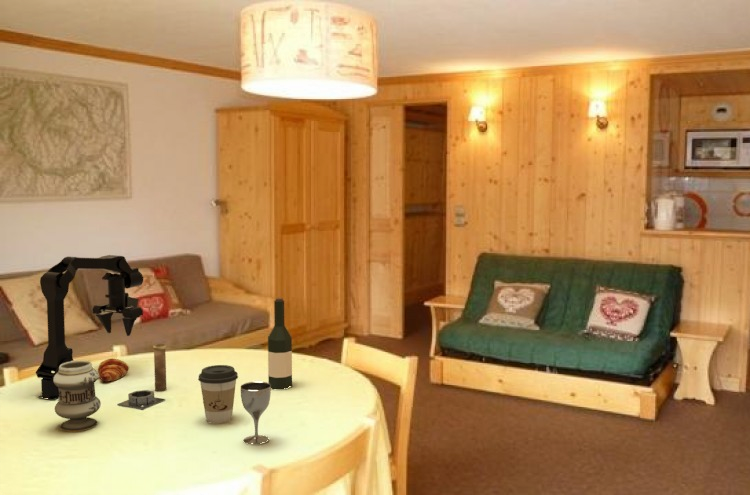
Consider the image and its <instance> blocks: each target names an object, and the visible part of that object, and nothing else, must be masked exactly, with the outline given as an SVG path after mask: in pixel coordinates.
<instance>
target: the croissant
mask: <svg viewBox="0 0 750 495" xmlns="http://www.w3.org/2000/svg"><path fill="white" fill-rule="evenodd" d="M97 368H98V369H97V372H98V375H99V379H100V380H101V381H103V382H112V381H113V382H114V381H117V380H119V379H121V378H123V376H125V375H126V374H127V373H128V371H129V368H130V366H129V365H128V364H127V363H126V362H125V361H123V360H121V359H119V358H118V359H117V358H108V359H105V360H103V361H101V362H100V363H99V366H98V367H97ZM118 378H119V379H118Z"/></svg>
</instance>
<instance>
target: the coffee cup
mask: <svg viewBox="0 0 750 495" xmlns="http://www.w3.org/2000/svg"><path fill="white" fill-rule="evenodd" d="M238 378H239V375H238V372H237V371H235V368H234V366H232V365H228V364H216V365H208V366H206V367H203V368H202V369H201V373H199V375H198V379H197V380H198V382H199V384H200V388H201V395H202V402H203V409H204V416H205V418H206V421H207V422H208V423H210V424H214V425H215V424H217V425H218V424H226V423H228V422H230V421H232V417H233V410H234V403H235V402H234V401H235V393H236V392H235V391H236V386H237V385H236V384H237V379H238Z"/></svg>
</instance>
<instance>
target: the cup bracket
mask: <svg viewBox="0 0 750 495" xmlns="http://www.w3.org/2000/svg"><path fill="white" fill-rule="evenodd" d="M127 397H128V399H127V400H124V401H122V402H119V403H117V406H119V407H123V408H124V407H125V408H130V409H134V410H135V409H137V410H141V411H144V410H146V409H148V408H151V407H153V406H155V405H157V404H159V403H160V404H161V403H163V402H164V401H166V399H165V398H159V397H156V396H155V391H153V390H148V389H147V390H145V389H143V390H136V391H132V392H130V393H128V396H127Z"/></svg>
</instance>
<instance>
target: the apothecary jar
mask: <svg viewBox="0 0 750 495" xmlns="http://www.w3.org/2000/svg"><path fill="white" fill-rule="evenodd" d="M99 378H100V376H99V373H98V370H96V369H95V368H93V364H92V361H90V360H73V361H71V362H66V363H63V364H61V365H60V366H59V371H58V373H57V374H56V375H55V376H54V379H53V381H54V384H55V385H56V386H58V389H59V398H58V401H57V403H55V406H54V412H55V414H56V415H57V416H58V417H60V418H62V419H66V420H65V421H63V422H62V423H61V424H60V427H59V428H60V430H61V431H63V432H68V433H69V432H70V433H71V432H72V433H73V432H75V433H76V432H77V433H78V432H82V431H86V430H87V431H88V430H90V429H92V428H94V427H95V426H97V425H98V421H97V419H95V418H92V417H90V416H92V415H93V414H96V412H98V411H99V410H100V408H101V404H102V402H101V400H100V399H99V398H98V397H97V396H96V387H95V383H96V382H97V381H98V379H99Z"/></svg>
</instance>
